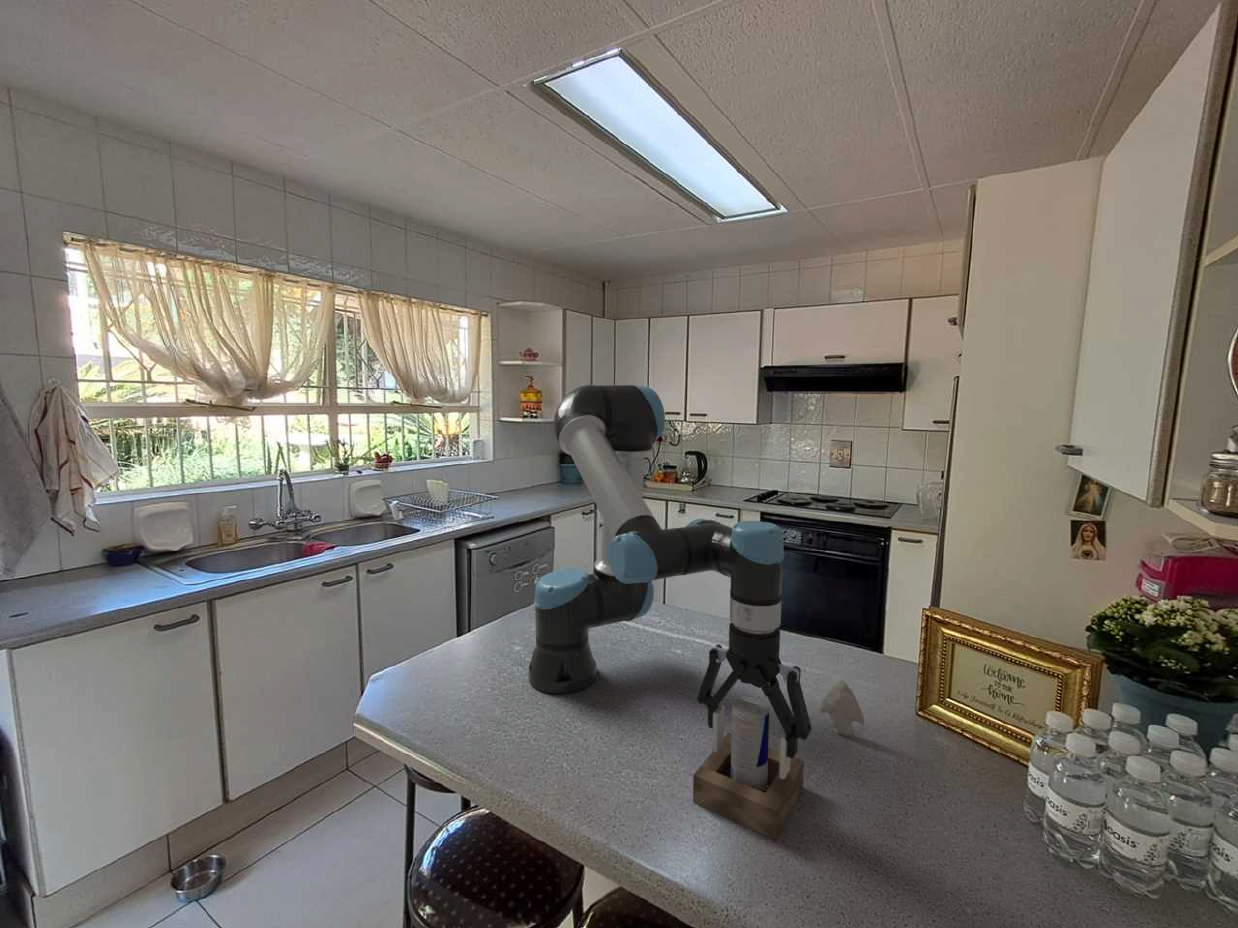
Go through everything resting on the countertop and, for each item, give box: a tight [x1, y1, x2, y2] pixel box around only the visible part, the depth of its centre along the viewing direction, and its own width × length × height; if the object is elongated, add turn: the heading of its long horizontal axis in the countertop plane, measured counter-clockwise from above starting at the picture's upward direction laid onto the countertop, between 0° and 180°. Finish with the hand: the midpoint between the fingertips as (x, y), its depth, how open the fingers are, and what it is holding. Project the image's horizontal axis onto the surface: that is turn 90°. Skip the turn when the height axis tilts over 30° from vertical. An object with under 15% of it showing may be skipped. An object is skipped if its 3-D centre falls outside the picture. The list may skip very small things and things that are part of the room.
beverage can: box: [730, 696, 770, 793], centre depth 85 cm, size 6×6×15 cm
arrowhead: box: [819, 680, 865, 737], centre depth 102 cm, size 8×3×10 cm, turn 54°
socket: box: [692, 732, 805, 841], centre depth 86 cm, size 13×13×4 cm
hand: (750, 759), depth 86 cm, fingers open, 10 cm apart
